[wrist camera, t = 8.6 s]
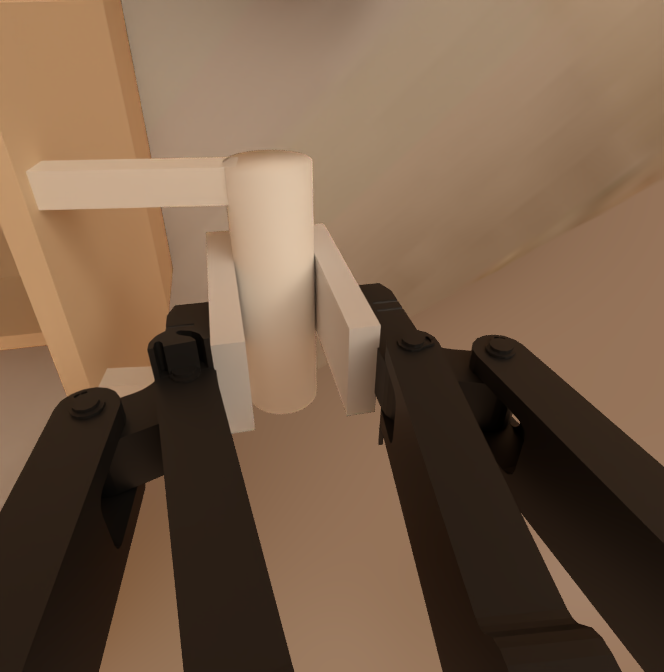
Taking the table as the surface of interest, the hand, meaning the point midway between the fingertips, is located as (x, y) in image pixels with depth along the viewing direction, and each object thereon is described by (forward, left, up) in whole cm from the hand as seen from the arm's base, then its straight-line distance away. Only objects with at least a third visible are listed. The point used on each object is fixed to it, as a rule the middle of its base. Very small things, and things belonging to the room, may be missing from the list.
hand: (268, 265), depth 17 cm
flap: (0, -6, -3) cm, 7 cm away
